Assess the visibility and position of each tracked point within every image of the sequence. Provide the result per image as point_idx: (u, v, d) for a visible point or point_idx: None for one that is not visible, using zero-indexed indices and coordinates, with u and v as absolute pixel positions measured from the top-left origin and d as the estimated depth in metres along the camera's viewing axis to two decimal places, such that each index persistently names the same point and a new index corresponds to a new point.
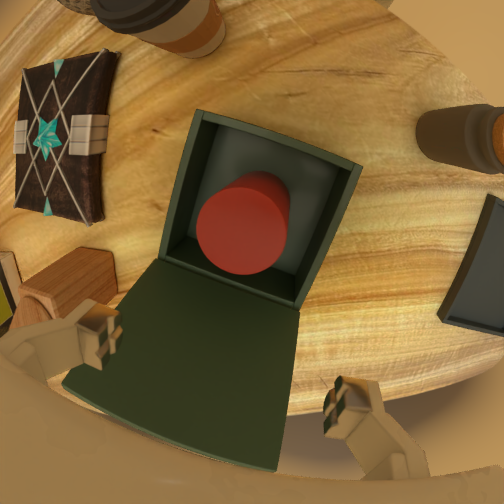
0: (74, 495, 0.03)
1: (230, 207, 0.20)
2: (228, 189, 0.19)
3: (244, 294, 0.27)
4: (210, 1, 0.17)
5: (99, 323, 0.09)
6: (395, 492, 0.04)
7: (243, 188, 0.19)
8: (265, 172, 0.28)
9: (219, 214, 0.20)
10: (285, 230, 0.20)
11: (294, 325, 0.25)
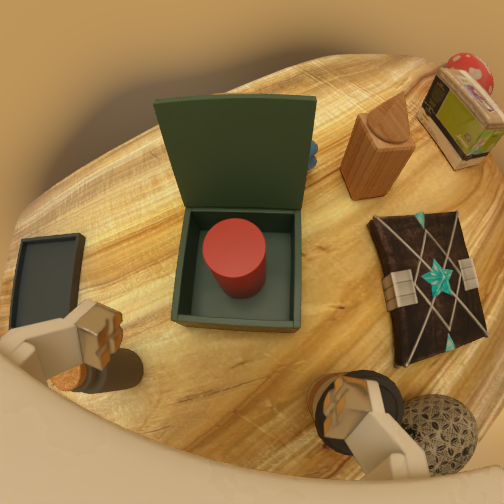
0: (74, 495, 0.03)
1: (244, 261, 0.29)
2: (249, 272, 0.29)
3: (226, 205, 0.36)
4: (312, 416, 0.26)
5: (99, 323, 0.09)
6: (395, 492, 0.04)
7: (239, 276, 0.29)
8: (242, 298, 0.38)
9: (250, 254, 0.29)
10: (204, 257, 0.29)
11: (184, 195, 0.35)
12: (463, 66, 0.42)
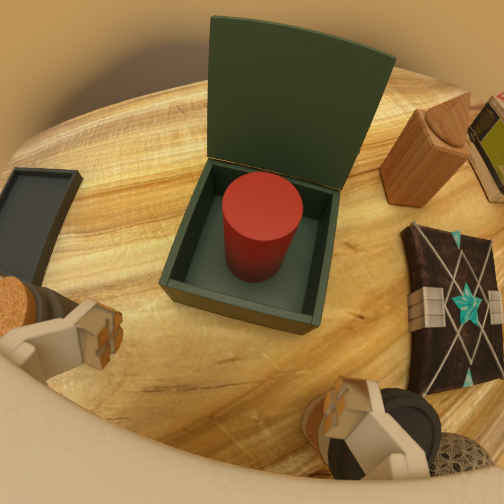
0: (74, 495, 0.03)
1: (273, 223, 0.22)
2: (277, 238, 0.22)
3: (257, 165, 0.30)
4: (316, 440, 0.19)
5: (99, 323, 0.09)
6: (395, 492, 0.04)
7: (263, 239, 0.22)
8: (250, 280, 0.31)
9: (282, 217, 0.23)
10: (223, 208, 0.23)
11: (210, 142, 0.28)
12: None
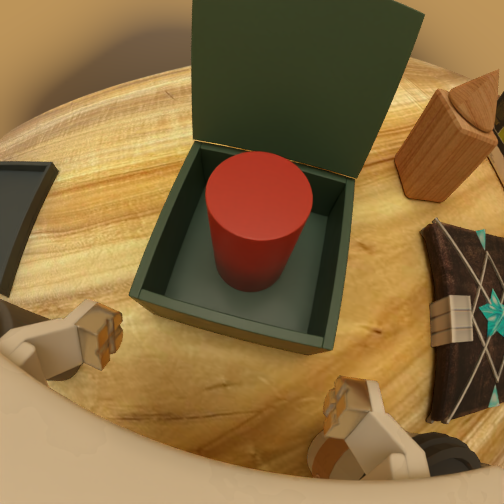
0: (74, 495, 0.03)
1: (273, 217, 0.17)
2: (278, 237, 0.16)
3: (253, 148, 0.24)
4: None
5: (99, 323, 0.09)
6: (395, 493, 0.04)
7: (260, 239, 0.16)
8: (245, 289, 0.25)
9: (286, 208, 0.17)
10: (206, 198, 0.17)
11: (196, 120, 0.23)
12: None
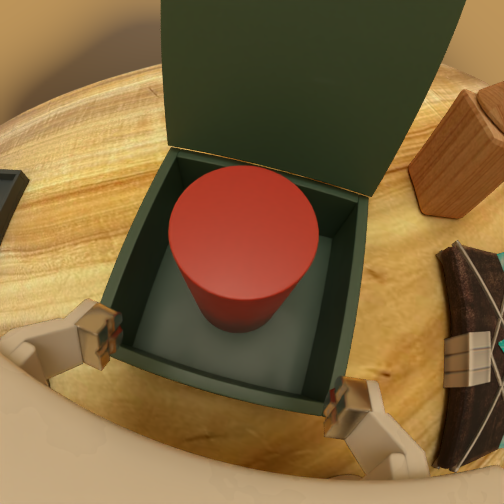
0: (74, 495, 0.03)
1: (262, 264, 0.12)
2: (268, 295, 0.11)
3: (242, 157, 0.19)
4: None
5: (99, 323, 0.09)
6: (395, 492, 0.04)
7: (242, 298, 0.11)
8: (230, 331, 0.20)
9: (281, 251, 0.12)
10: (170, 234, 0.12)
11: (171, 122, 0.18)
12: None
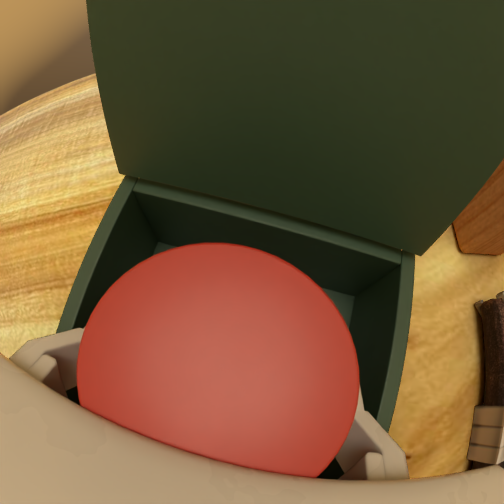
0: (74, 495, 0.03)
1: (248, 463, 0.05)
2: None
3: (228, 194, 0.12)
4: None
5: None
6: (395, 492, 0.04)
7: None
8: None
9: (285, 437, 0.05)
10: (79, 390, 0.05)
11: (117, 141, 0.11)
12: None
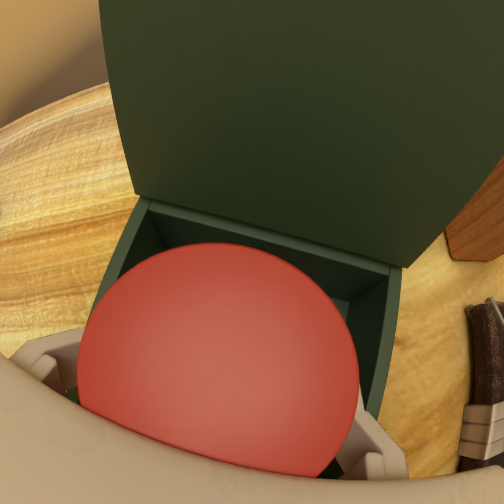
0: (74, 495, 0.03)
1: (248, 462, 0.05)
2: None
3: (234, 215, 0.14)
4: None
5: None
6: (395, 493, 0.04)
7: None
8: None
9: (285, 437, 0.05)
10: (79, 390, 0.05)
11: (134, 167, 0.13)
12: None
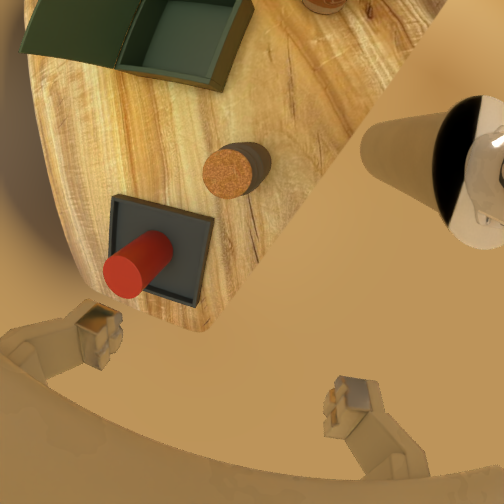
0: (74, 495, 0.03)
1: (132, 274, 0.36)
2: (139, 274, 0.36)
3: (125, 32, 0.28)
4: None
5: (99, 323, 0.09)
6: (395, 492, 0.04)
7: (141, 281, 0.36)
8: (170, 256, 0.46)
9: (127, 268, 0.36)
10: (127, 298, 0.38)
11: (104, 63, 0.29)
12: None
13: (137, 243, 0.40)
